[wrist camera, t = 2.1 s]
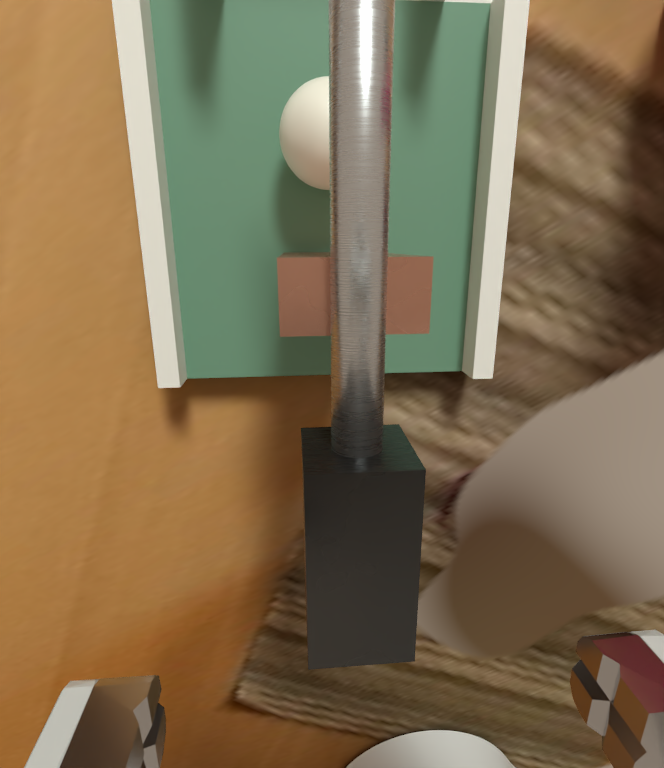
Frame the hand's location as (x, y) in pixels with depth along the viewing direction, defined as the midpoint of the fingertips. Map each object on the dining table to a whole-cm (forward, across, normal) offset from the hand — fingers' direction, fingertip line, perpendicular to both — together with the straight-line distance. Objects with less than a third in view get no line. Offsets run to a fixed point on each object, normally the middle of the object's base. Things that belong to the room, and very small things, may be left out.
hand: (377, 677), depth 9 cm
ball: (+14, 0, -12) cm, 18 cm away
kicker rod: (+15, 0, -8) cm, 17 cm away
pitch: (+17, 0, -12) cm, 21 cm away
